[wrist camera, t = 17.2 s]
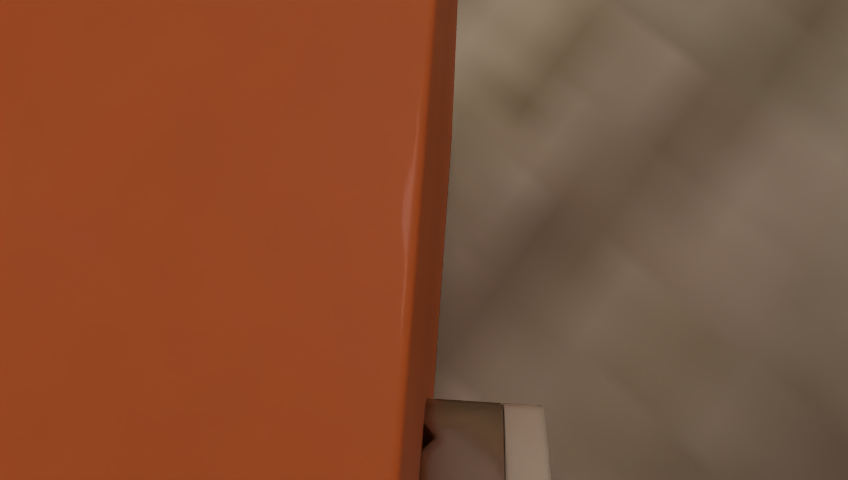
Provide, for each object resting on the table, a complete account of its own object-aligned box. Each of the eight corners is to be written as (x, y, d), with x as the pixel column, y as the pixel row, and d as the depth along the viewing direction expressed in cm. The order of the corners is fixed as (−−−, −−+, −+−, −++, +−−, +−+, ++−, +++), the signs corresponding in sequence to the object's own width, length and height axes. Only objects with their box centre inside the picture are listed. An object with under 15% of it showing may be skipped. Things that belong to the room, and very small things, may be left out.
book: (452, 130, 21) (486, -642, 5) (424, 525, 19) (350, 1119, 3) (341, 123, 21) (58, -656, 5) (302, 515, 19) (-311, 1048, 4)
